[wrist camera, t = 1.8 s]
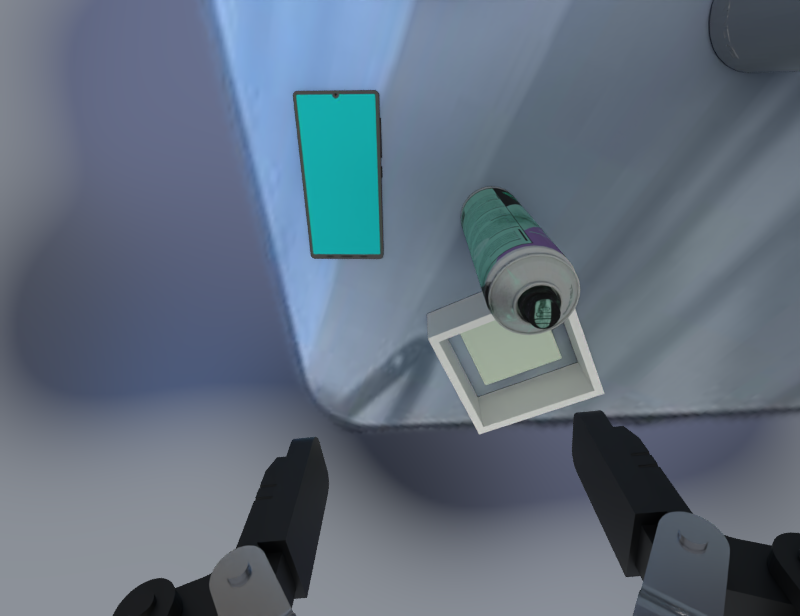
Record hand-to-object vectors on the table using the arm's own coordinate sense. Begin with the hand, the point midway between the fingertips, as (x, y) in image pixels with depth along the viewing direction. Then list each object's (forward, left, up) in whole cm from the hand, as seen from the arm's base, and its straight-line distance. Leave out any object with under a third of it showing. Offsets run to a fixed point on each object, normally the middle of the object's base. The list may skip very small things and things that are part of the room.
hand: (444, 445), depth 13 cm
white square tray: (-2, +17, -30) cm, 35 cm away
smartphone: (+6, -5, -31) cm, 32 cm away
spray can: (-5, +3, -31) cm, 31 cm away
